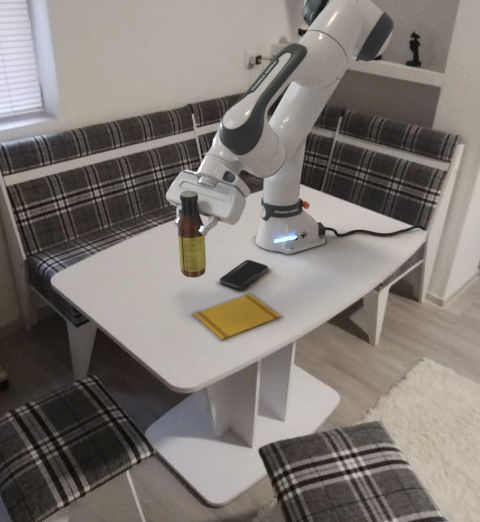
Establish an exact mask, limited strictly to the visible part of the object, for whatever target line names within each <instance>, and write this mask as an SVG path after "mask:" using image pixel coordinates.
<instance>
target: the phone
mask: <svg viewBox="0 0 480 522" xmlns="http://www.w3.org/2000/svg"><path fill="white" fill-rule="evenodd" d="M268 271H269V266H268V265H266V264H264V263H261V262H257V261H254V260H252V259H246V260H244V261H242V262H241V263H239V264H238V265H237V266H236V267H234V268H233V269H231V270H229V272H227V273H226V274H224V275H223V276H221V277H220V278H219V283H220V285H223V286H226V287H228V288H231V289H234V290H237V291H244V290H245V289H247V288H248V287H249V286H251V285H252V284H253V283H254V282H256V281H257V280H258V279H260V278H261V277H263V275H265V274H266V273H267V272H268Z"/></svg>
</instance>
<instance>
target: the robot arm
mask: <svg viewBox="0 0 480 522" xmlns="http://www.w3.org/2000/svg"><path fill="white" fill-rule="evenodd" d="M302 6H303V7H302V10H301V13H302V18H303V21H304V22H305V23H306V25H307V26H308V29H307V30H306V32H305V33H304V34H303V36H302V38H301V39H300V40H299V41H298V42H294V43H290V44H288V45H286V46H284V47H283V48H282V49H281V50H280V51H279V52H278V53H277V54H276V55H275V56H274V57H273V59H272V60H271V61H270V62H269V63H268V65H266V67H265V68H264V69H263V70H262V72H261V73H260V74H259V76H258V77H257V78H256V79H255V80H254V81H253V83H252V84H251V85H250V86H249V88H247V90H246V91H245V92H244V93H243V95H242V96H241V97H240V98H239V99H238V100H237V101H235V102H234V103H233V104H232V105H231V106H230V107H229V108H227V109H226V111H225V112H224V114H223V115H222V117H221V119H220V122H219V125H218V126H219V127H218V129H217V131H216V133H215V134H214V137H213V139H212V144H211V147H210V149H209V150H208V151H207V152H206V154H205V155H204V157H203V159H202V161H201V163H200V166H199V167H198V169H197V170H192V169H191V168H186V169H184V170H181V171H180V172H179V173H178V175H177V176H176V178H175V179H174V180H173V182H172V183H171V185H169V188H168V190H167V191H166V193H165V199H166V201H167V202H168V203H169V204H171V205H172V206H173V207H176V216H175V217H176V218H175V219H174V222H173V224H174V225H175V227H178V220H179V218H180V216H181V214H182V211H181V210H182V206H181V200H180V193H181V192H184V191H195V192H197V193H198V201H197V202H198V212H199V214H200V216H204V217H206V218H207V220H208V221H207V222H206V223H205V224H203V225H204V226H202V225H201V226H200V229H199V230H198V233H199V234H201V235H203V236H205V237H207V235H208V233H209V232H210V231H211V230H212V229H213V228H214V227H216V226H217V225H218V223H219V222H221V223H224V224H227V225H230V226H234V225H236V224H238V222H239V221H240V219H241V217H242V215H243V213H244V210H245V207H246V206H247V205H246V204H247V198H248V197H249V196H250V194H251V190H250V188H249V187H248V185H247V183H245V181H244V180H243V179H242V178H241V177H240V176H239V175H240V173H241V171H245V172H246V173H248V174H249V175H251V176H253V177H256V178H259V179H263V184H262V185H263V186H262V187H263V188H262V197H261V200H260V201H261V202H260V220H259V221H260V223H259V226H258V230H257V233H256V237H255V241H254V242H255V243H256V245H257V246H258V247H260V248H262V249H265V250H267V251H272V252H279V253H283V254H287V255H293V254H296V253H299V252H302V251H306V250H308V249H311V248H315V247H317V246H321V245H322V246H323V245H324V244H325V243H326V238H325V236H326V232H327V231H331V232H332V233H334V235H335V236H336V237H338V238H341V237H347V236H349V235H352V234H356V233H361V234H367V235H368V234H369V235H373V236H378V237H392V236H396V235H399V234H402V233H406V232H409V231H412V230H415V229H421V230H422V231H426V228H425V226H424V225H421V224H416V225H413V226H410V227H407V228H404V229H403V228H402V229H399V230H396V231H393V232H378V231H377V232H376V231H372V230H368V229H352V230H350V231H347V232H344V233H338V230H337V229H335V228H333V227H329V226H328V227H327V226H324V224H323V223H322V222H321V221H317V220H316V219H315V218H314V217H313V216H312V215H311V214H310V213H308V212H307V211H306V210H308V209H309V208H310V206H311V204H310V203H309V202H308V201H306V200H303V199H302V198H301V197H300V191H301V181H302V180H301V179H302V172H303V165H304V159H305V151H306V143H307V137H308V136H309V134H310V133H311V131H312V129H313V127H314V126H315V124H316V122H317V121H318V118H319V117H320V116H321V113H322V112H323V110H324V108H325V107H326V105H327V103H328V101H329V100H330V98H331V96H332V95H333V93H334V91H336V88H337V86H338V85H339V83H340V82H341V80H342V78H343V77H344V75H345V73H346V71H347V69H348V67H349V65H350V63H351V62H352V59H353V58H354V56H355V57H356V59H355V62H359V61H362V62H370V61H374V60H375V59H376V58H377V57H379V56H380V55H382V53H383V52H384V51H385V50H386V49H387V47H388V46H389V44H390V42H391V39H392V36H393V30H394V29H395V24H394V23H395V22H394V20H393V18H392V17H391V16H390V14H388V13H387V12H386V11H383V10H381V8H380V7H378V6H377V5H376V4H375V3H374V2H373V1H372V0H304V2H303V5H302ZM286 88H287V89H286ZM285 90H286V91H285ZM284 91H285V93H284V94H283V96H282V98H281V99H280V101H279V103H278V105H277V107H276V108H275V110H274V111H273V114H272V115H271V117H270V119H269V120H268V112H269V109H270V108H271V107H272V106H273V105H274V104H275V102H276V101H277V99H278V98H279V97H280V95H282V93H283V92H284ZM303 208H304V209H305V210H304V209H303Z"/></svg>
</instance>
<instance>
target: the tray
mask: <svg viewBox="0 0 480 522" xmlns="http://www.w3.org/2000/svg"><path fill="white" fill-rule="evenodd" d="M193 316H195V318H196V319H198V320H199V321H200V322H201V323H202V324H203V325H204V326H205V327H206V328H208V329H209V330H210V331H211V332H212V333H213V334H215V336H217V337H218V338H219V339H220V340H221V341H223V340H226V339H228V338H231V337H233V336H236V335H238V334H241V333H243V332H246V331H248V330H252V329H253V328H256V327H259V326H261V325H264V324H266V323H269V322H271V321H274V320H276V319H279V318H281V315H279V314H278V313H277V312H275V311H274V310H273V309H272V308H270V307H269V306H268V305H267V304H264V303H263V302H262V301H261V300H260V299H258V298H256V296H254V295H253V294H252V293H249V294H246V295H244V296H239V297H238V298H235V299H232V300H230V301H227V302H223V303H221V304H218V305H215V306H212V307H209V308H206V309H204V310H201V311H198V312H195V313H193Z"/></svg>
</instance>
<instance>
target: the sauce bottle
mask: <svg viewBox="0 0 480 522" xmlns="http://www.w3.org/2000/svg"><path fill="white" fill-rule="evenodd" d="M180 200H181V206H182V210H181V211H182V214H181V216H180V218H179V220H178V226H177V239H178V240H177V241H178V250H179V251H178V252H179V266H180V272H181V274H182V275H183V276H184V277H187V278H191V279H192V278H193V279H194V278H199V277H201V276H203V275H205V273H206V271H207V270H206V268H207V260H206V259H207V258H206V257H207V256H206V236H203V235H201V234H199V233H198V230H199V229H200V226H201V225H202V226H204V225H205V224H204V222H203V220H202V217H201V215H200V214H199V212H198V202H197V201H198V193H197V192H195V191H184V192H181V193H180Z"/></svg>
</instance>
